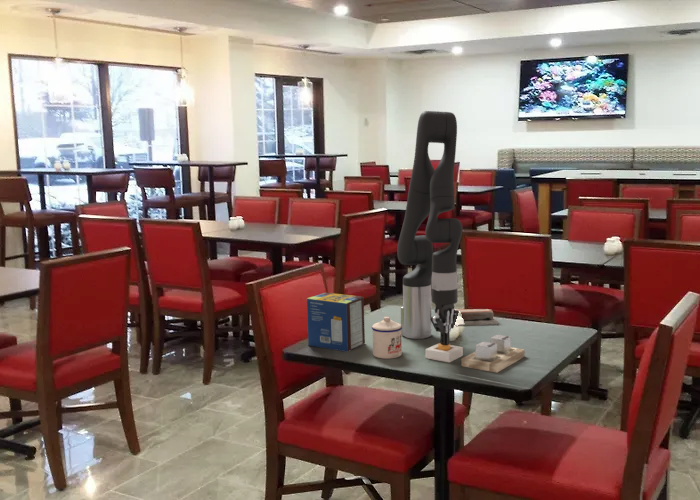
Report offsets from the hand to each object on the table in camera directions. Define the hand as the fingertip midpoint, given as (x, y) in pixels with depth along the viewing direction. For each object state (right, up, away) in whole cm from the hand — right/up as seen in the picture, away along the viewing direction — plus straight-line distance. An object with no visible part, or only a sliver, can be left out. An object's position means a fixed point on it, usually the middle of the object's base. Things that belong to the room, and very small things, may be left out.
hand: (445, 344), depth 212 cm
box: (0, -4, +1) cm, 4 cm away
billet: (+16, -4, -1) cm, 17 cm away
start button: (0, -2, 0) cm, 2 cm away
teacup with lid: (-16, -4, +7) cm, 18 cm away
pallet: (+13, -5, -5) cm, 15 cm away
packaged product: (+15, +2, +43) cm, 46 cm away
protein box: (-32, -3, +18) cm, 37 cm away
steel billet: (+11, -5, -8) cm, 14 cm away
